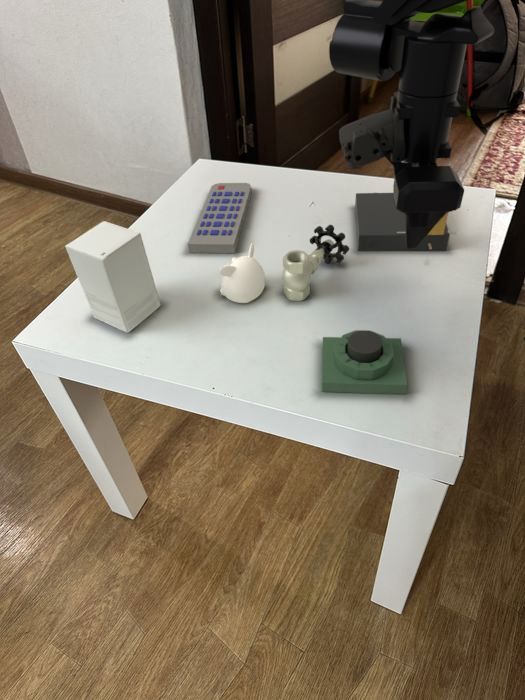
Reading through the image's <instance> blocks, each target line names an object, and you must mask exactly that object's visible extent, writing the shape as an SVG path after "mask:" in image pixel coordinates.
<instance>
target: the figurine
mask: <svg viewBox="0 0 525 700" xmlns="http://www.w3.org/2000/svg"><path fill="white" fill-rule="evenodd" d="M254 252H255V245H254V243H253V242H251V244H250V246H249V250H248V255H241V256H239V257H235V256H233V257H232V258H231V263H228V262H225V263H224V264H223V266H221V267H220V268H219V271H218V272H219V274H220V275H221V276H223V277H222V280H221V288H220V289H219V292H220V294H221V296H224V297H225V298H227V299H228V300H230V301H231V302H234V303H239V304H247V303H250V302H252V301H254V300H255V299H257V298H258V297H259V296H260V295H262V293H263V291H264V289H265V287H266V286H265V285H266V274H265V271H264V268H263V267H262V265H261V264H260V263H261V262H259V261H258V260H257V259H256V258H254Z"/></svg>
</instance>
